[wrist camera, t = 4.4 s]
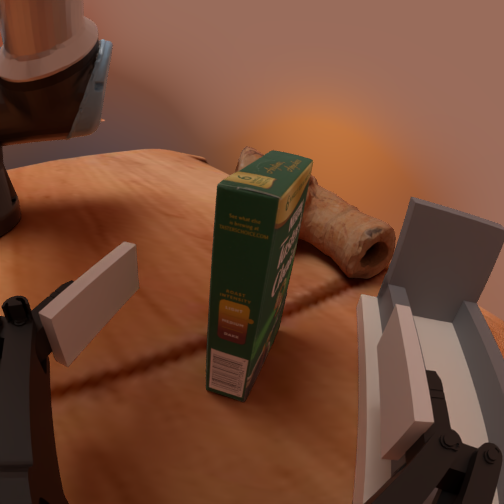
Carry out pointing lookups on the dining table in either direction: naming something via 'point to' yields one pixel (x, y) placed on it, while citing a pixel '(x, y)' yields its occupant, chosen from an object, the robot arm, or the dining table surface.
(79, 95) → the robot arm
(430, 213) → the rack
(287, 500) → the dining table surface
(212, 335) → the coffee box
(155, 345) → the dining table surface
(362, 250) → the clay pipe
